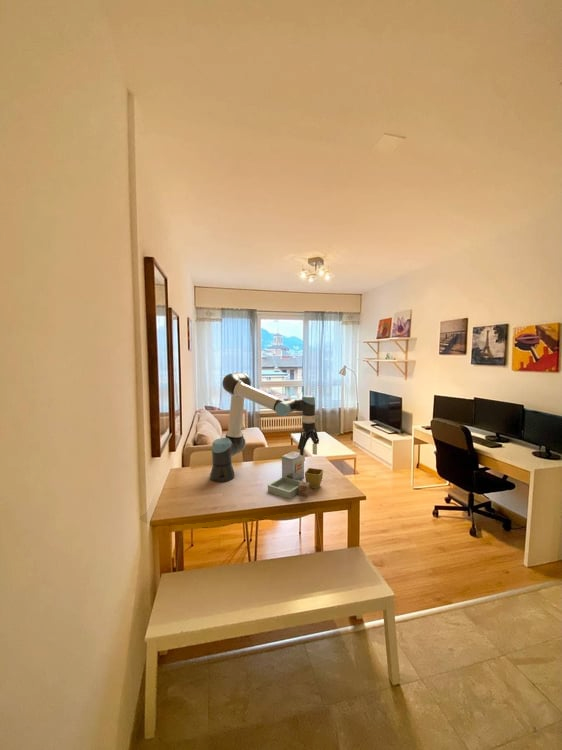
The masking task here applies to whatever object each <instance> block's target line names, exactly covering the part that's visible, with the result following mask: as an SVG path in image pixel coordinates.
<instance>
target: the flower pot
mask: <svg viewBox="0 0 562 750" xmlns="http://www.w3.org/2000/svg"><path fill="white" fill-rule="evenodd" d="M323 474H324V469H321V468H320V469H319V468H312V467H308V468H307V469H306V471H304V478H305V482H309V483H310V488H311V489H319V487H320V485H321V483H322V481H323Z"/></svg>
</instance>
